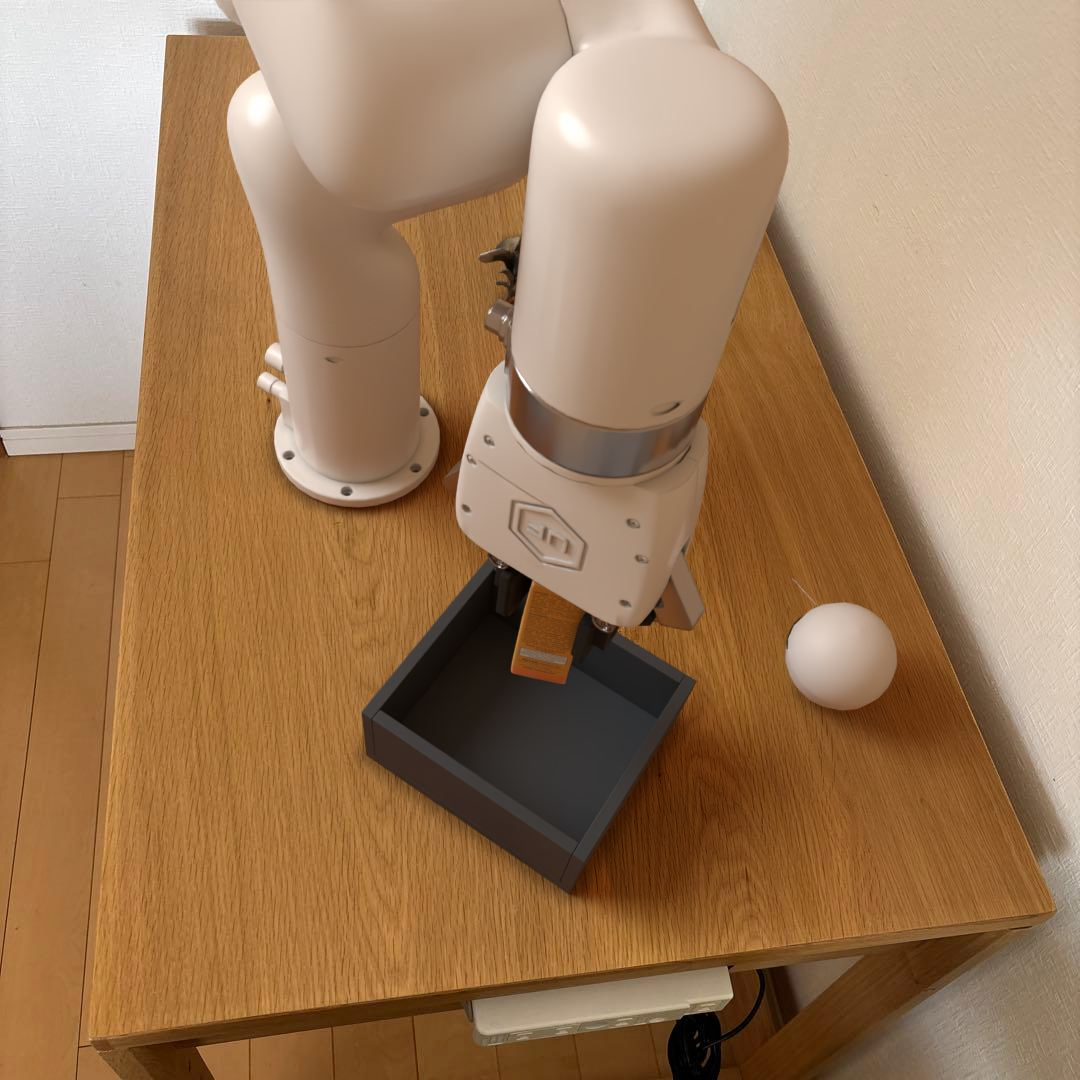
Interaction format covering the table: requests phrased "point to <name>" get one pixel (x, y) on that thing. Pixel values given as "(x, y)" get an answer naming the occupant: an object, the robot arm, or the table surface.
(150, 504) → the table surface
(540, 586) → the supplement box
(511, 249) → the eagle figurine
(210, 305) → the table surface
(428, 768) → the bin
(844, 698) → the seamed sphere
